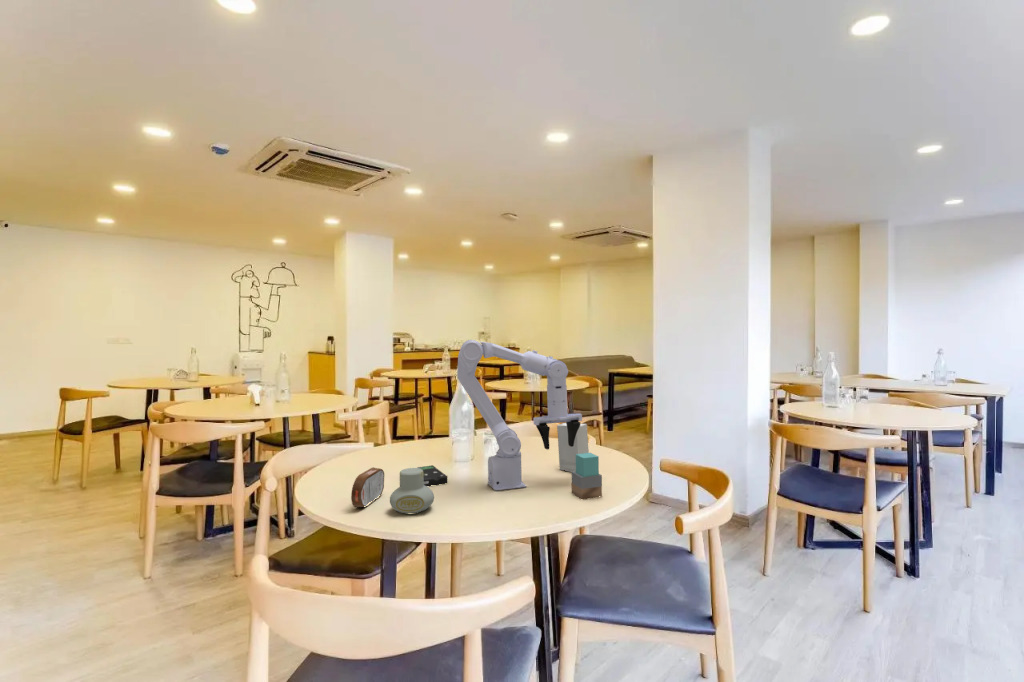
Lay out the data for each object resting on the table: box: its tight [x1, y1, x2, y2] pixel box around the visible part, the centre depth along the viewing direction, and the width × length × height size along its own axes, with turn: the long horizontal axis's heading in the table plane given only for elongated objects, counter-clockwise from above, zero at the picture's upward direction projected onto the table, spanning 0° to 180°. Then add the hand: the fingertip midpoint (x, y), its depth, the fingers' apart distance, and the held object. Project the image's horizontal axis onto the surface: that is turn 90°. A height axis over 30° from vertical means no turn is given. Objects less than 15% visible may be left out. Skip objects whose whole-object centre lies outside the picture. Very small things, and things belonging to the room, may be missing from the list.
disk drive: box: [416, 465, 448, 487], centre depth 154 cm, size 10×3×15 cm
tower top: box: [571, 471, 603, 489], centre depth 137 cm, size 6×6×3 cm
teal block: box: [576, 452, 600, 477], centre depth 136 cm, size 4×4×5 cm
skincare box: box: [556, 422, 590, 473], centre depth 161 cm, size 8×6×15 cm
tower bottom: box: [571, 482, 603, 500], centre depth 137 cm, size 6×6×3 cm
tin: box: [350, 467, 385, 508], centre depth 134 cm, size 15×3×8 cm, turn 170°
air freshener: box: [389, 467, 435, 514], centre depth 127 cm, size 11×8×10 cm
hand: (559, 447), depth 148 cm, fingers open, 7 cm apart
